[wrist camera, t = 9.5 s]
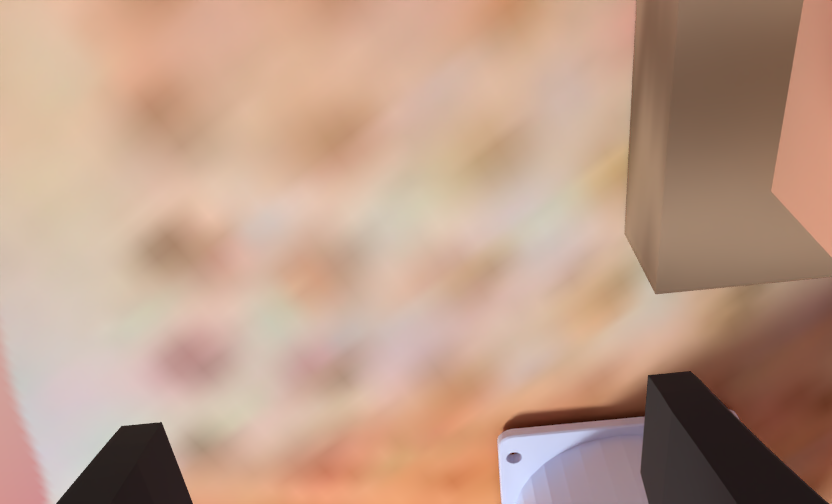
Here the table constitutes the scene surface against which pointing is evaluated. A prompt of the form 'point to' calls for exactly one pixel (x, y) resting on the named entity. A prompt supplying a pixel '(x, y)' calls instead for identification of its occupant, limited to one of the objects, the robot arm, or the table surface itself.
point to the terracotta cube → (809, 127)
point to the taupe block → (713, 146)
